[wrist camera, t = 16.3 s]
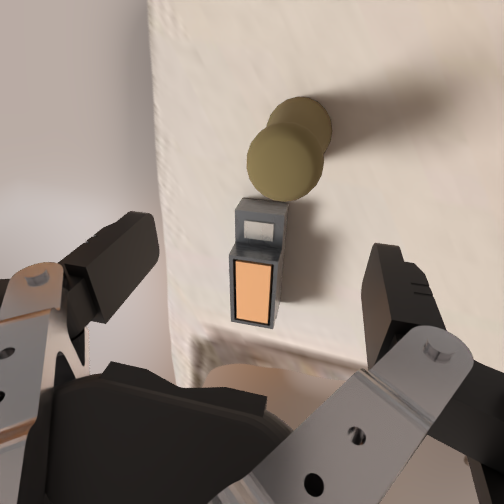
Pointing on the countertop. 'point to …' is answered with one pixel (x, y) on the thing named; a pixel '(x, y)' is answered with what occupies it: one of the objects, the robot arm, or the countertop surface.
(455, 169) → the countertop surface
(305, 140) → the cork
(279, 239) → the grey slotted housing
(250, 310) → the orange button
